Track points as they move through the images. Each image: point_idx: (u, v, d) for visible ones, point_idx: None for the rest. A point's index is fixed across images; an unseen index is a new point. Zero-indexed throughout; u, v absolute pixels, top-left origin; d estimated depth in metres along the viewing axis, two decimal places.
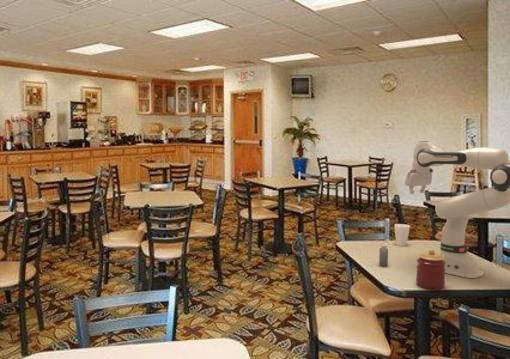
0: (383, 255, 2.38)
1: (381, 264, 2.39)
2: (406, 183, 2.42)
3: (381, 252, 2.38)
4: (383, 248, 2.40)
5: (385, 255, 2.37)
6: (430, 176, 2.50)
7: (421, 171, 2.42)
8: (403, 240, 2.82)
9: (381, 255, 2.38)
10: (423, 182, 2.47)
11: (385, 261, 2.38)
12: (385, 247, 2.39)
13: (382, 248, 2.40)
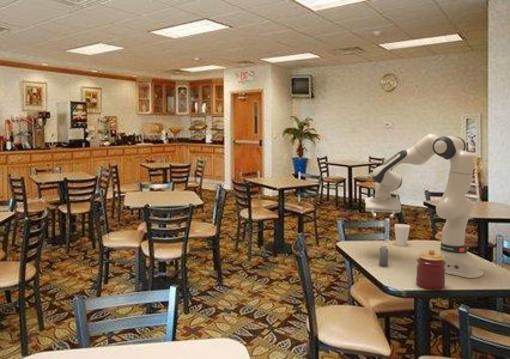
0: (383, 255, 2.38)
1: (381, 264, 2.39)
2: (365, 208, 2.57)
3: (381, 252, 2.38)
4: (383, 248, 2.40)
5: (385, 255, 2.37)
6: (397, 202, 2.54)
7: (377, 195, 2.57)
8: (403, 240, 2.82)
9: (381, 255, 2.38)
10: (387, 206, 2.53)
11: (385, 261, 2.38)
12: (385, 247, 2.39)
13: (382, 248, 2.40)
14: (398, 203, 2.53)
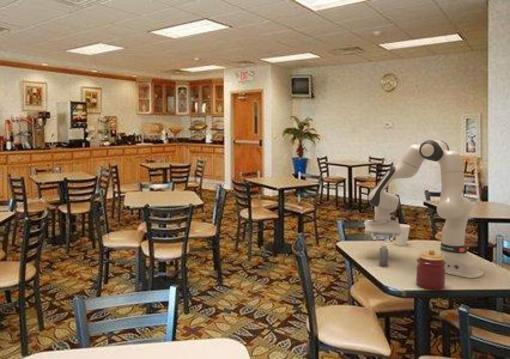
0: (383, 255, 2.38)
1: (381, 264, 2.39)
2: None
3: (381, 252, 2.38)
4: (383, 248, 2.40)
5: (385, 255, 2.37)
6: (397, 225, 2.51)
7: (377, 218, 2.55)
8: (403, 240, 2.82)
9: (381, 255, 2.38)
10: (386, 230, 2.50)
11: (385, 261, 2.38)
12: (385, 247, 2.39)
13: (382, 248, 2.40)
14: (398, 226, 2.50)
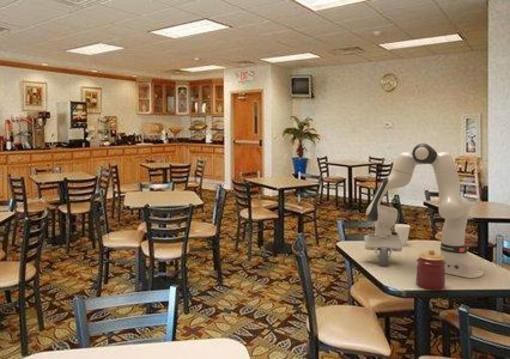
0: (383, 255, 2.38)
1: (381, 264, 2.39)
2: None
3: (381, 252, 2.38)
4: (383, 248, 2.40)
5: (385, 255, 2.37)
6: (398, 240, 2.43)
7: (377, 232, 2.47)
8: (403, 240, 2.82)
9: (381, 255, 2.38)
10: (387, 245, 2.42)
11: (385, 261, 2.38)
12: (385, 247, 2.39)
13: (382, 248, 2.40)
14: (399, 241, 2.42)
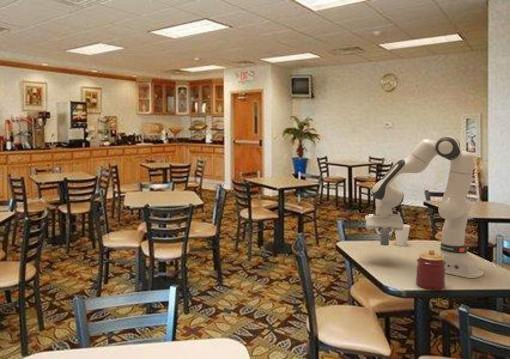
0: (384, 234, 2.36)
1: (382, 243, 2.37)
2: None
3: (382, 231, 2.37)
4: (384, 227, 2.38)
5: (386, 234, 2.36)
6: (399, 219, 2.42)
7: (378, 212, 2.45)
8: (403, 240, 2.82)
9: (382, 234, 2.37)
10: (388, 224, 2.41)
11: (386, 240, 2.36)
12: (386, 226, 2.38)
13: (383, 227, 2.38)
14: (400, 220, 2.41)
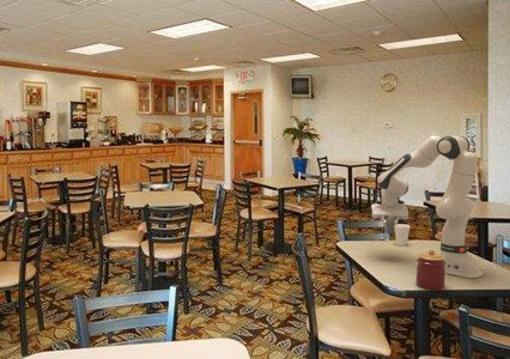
0: (390, 222, 2.45)
1: (388, 231, 2.46)
2: None
3: (388, 219, 2.45)
4: (390, 216, 2.47)
5: (392, 222, 2.45)
6: (404, 208, 2.50)
7: (384, 201, 2.54)
8: (403, 240, 2.82)
9: (388, 222, 2.46)
10: (394, 213, 2.50)
11: (392, 228, 2.45)
12: (392, 215, 2.47)
13: (389, 216, 2.47)
14: (405, 210, 2.50)
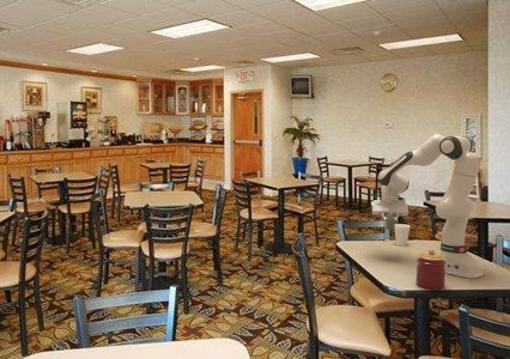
0: (390, 219, 2.45)
1: (388, 227, 2.46)
2: (372, 211, 2.54)
3: (388, 216, 2.45)
4: (390, 212, 2.47)
5: (392, 219, 2.45)
6: (404, 205, 2.50)
7: (384, 198, 2.54)
8: (403, 240, 2.82)
9: (388, 219, 2.45)
10: (394, 210, 2.49)
11: (392, 224, 2.45)
12: (392, 211, 2.46)
13: (389, 212, 2.47)
14: (405, 206, 2.49)
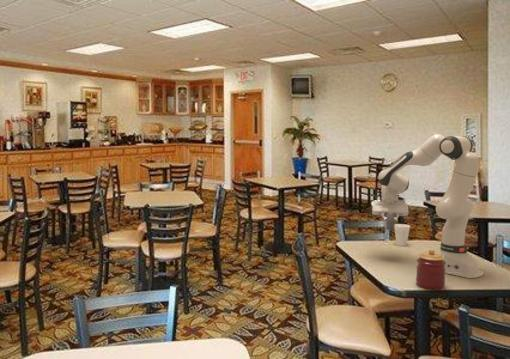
0: (390, 219, 2.45)
1: (388, 227, 2.46)
2: (372, 211, 2.54)
3: (388, 216, 2.45)
4: (390, 212, 2.47)
5: (392, 219, 2.45)
6: (404, 205, 2.50)
7: (384, 198, 2.54)
8: (403, 240, 2.82)
9: (388, 219, 2.45)
10: (394, 210, 2.49)
11: (392, 224, 2.45)
12: (392, 211, 2.46)
13: (389, 212, 2.47)
14: (405, 206, 2.49)
